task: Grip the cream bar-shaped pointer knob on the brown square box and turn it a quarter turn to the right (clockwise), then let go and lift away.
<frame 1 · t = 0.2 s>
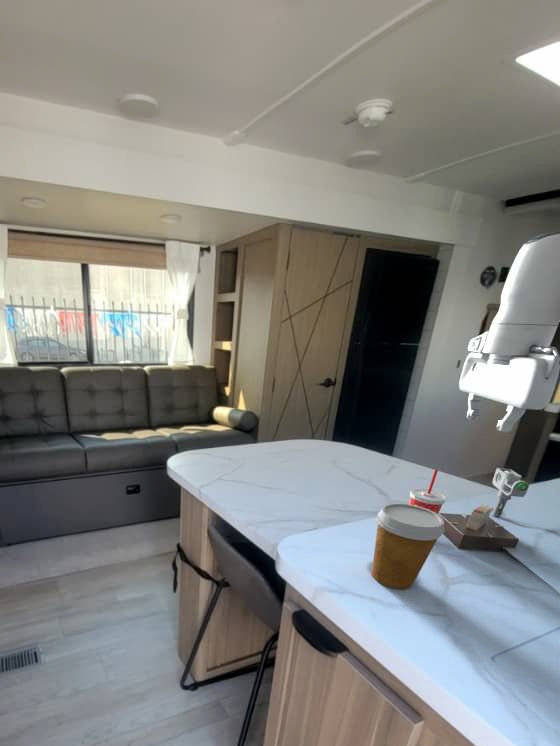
hand: (486, 424, 75), 22 cm above the table, tool pointing down, fingers open, 8 cm apart
brown square box: (471, 538, 82), on the table
disposable coffee cup: (391, 579, 68), on the table
beverage cup: (414, 535, 83), on the table
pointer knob: (479, 516, 80), point 5 cm above the table, hinge at 45.0°
mechanical component: (495, 516, 92), on the table
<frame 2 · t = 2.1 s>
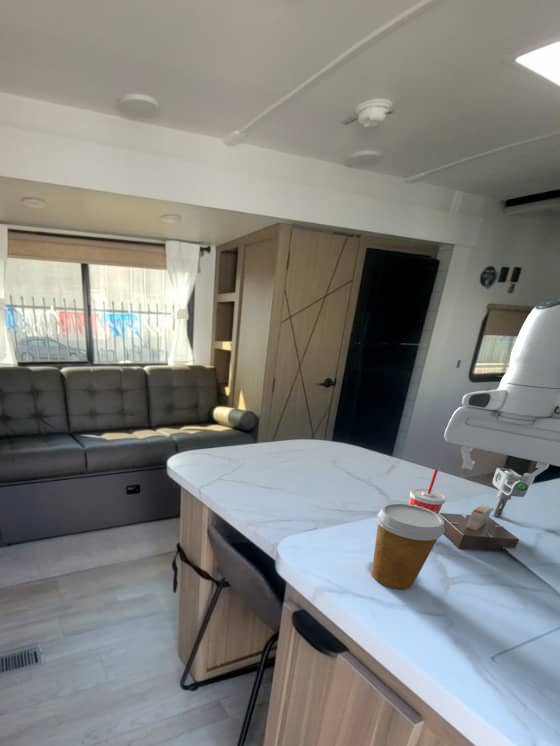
hand: (494, 476, 76), 13 cm above the table, tool pointing down, fingers open, 8 cm apart
nothing on the table moved.
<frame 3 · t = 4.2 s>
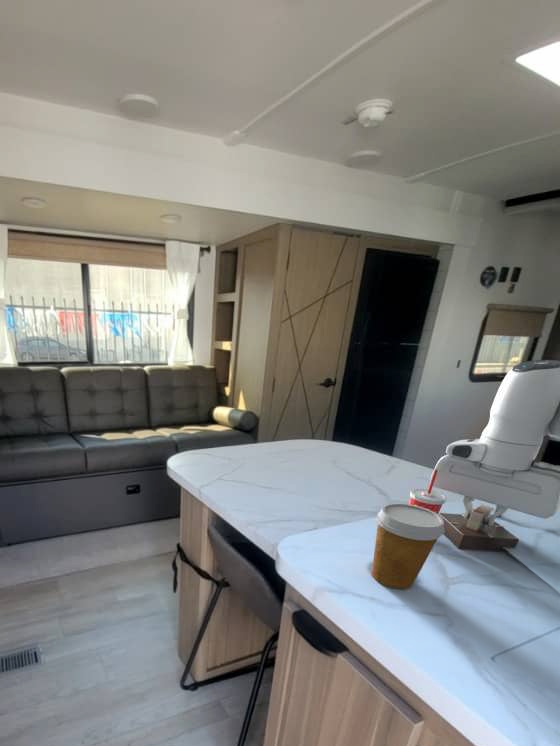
hand: (477, 521, 80), 4 cm above the table, tool pointing down, fingers closed on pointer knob, 2 cm apart
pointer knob: (479, 516, 80), point 5 cm above the table, hinge at 45.1°, touching gripper
everything else where it was.
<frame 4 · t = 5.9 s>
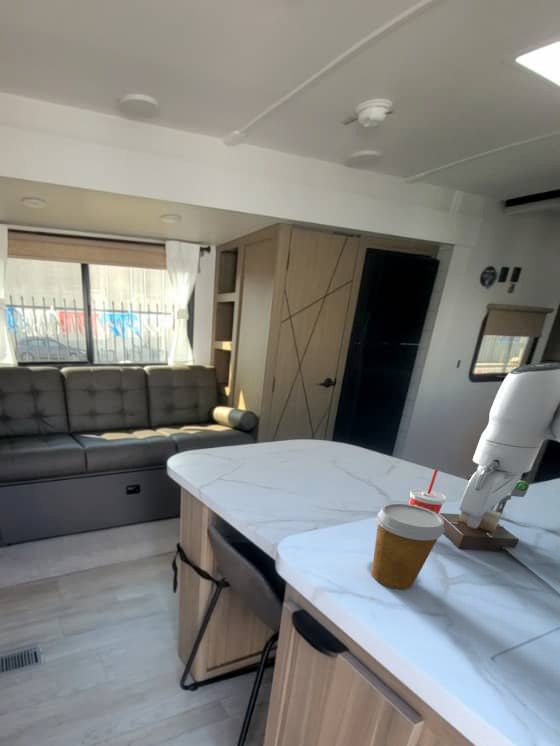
hand: (477, 522, 81), 3 cm above the table, tool pointing down, fingers open, 4 cm apart
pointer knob: (479, 516, 80), point 5 cm above the table, hinge at -45.0°
everything else where it was.
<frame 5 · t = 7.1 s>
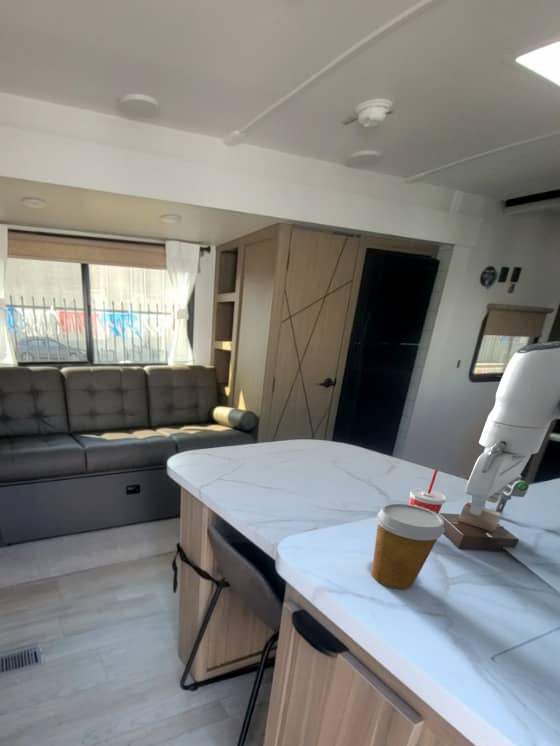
hand: (484, 507, 79), 7 cm above the table, tool pointing down, fingers open, 8 cm apart
nothing on the table moved.
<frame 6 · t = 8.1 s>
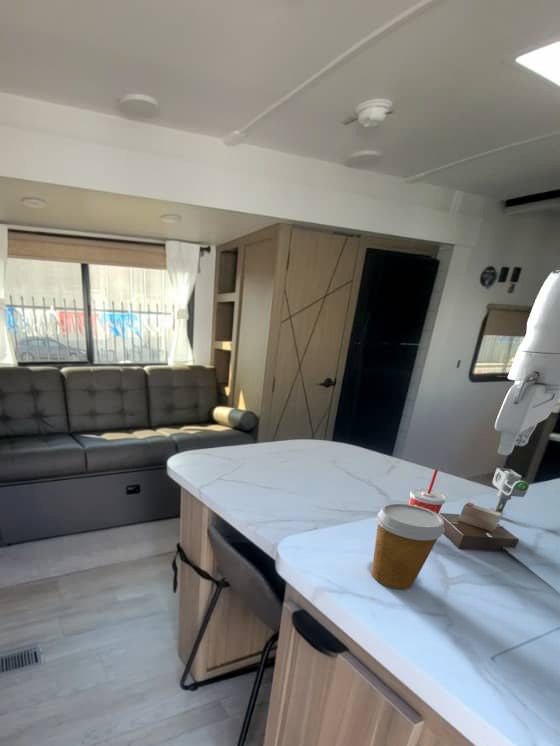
hand: (511, 449, 75), 18 cm above the table, tool pointing down, fingers open, 8 cm apart
nothing on the table moved.
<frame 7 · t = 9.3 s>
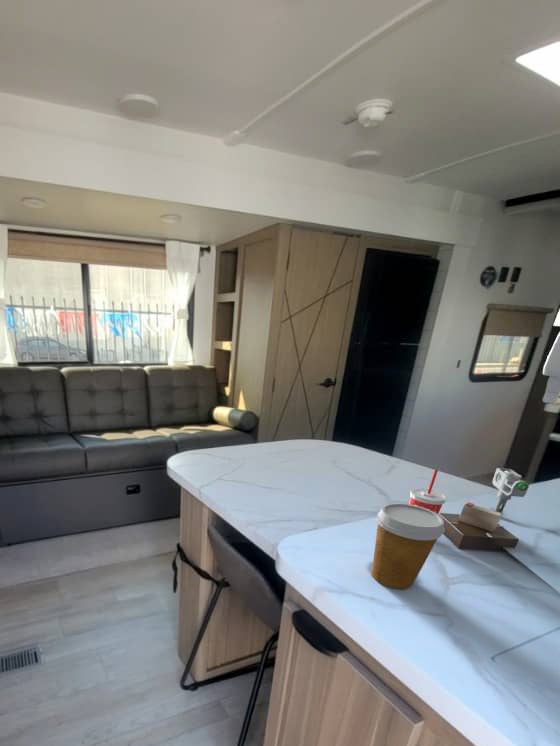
hand: (555, 400, 74), 27 cm above the table, tool pointing down, fingers open, 8 cm apart
nothing on the table moved.
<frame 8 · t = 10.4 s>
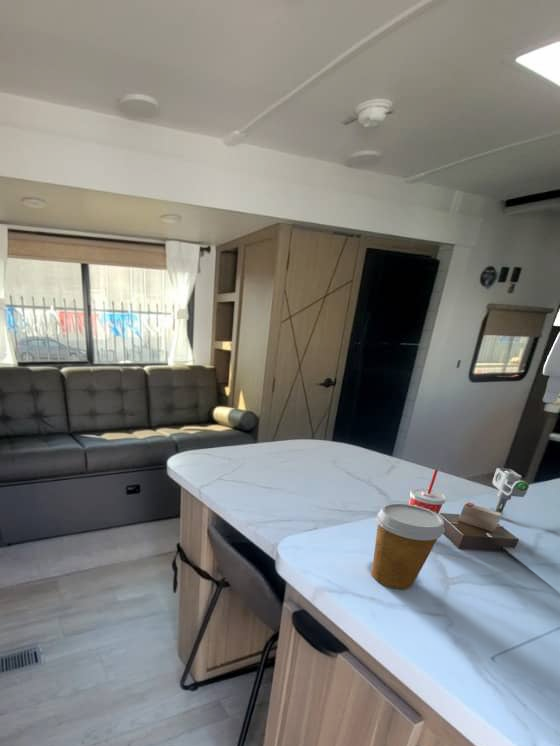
hand: (555, 400, 74), 27 cm above the table, tool pointing down, fingers open, 8 cm apart
nothing on the table moved.
at the end: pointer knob at -45° (first picture: +45°); the gripper is holding nothing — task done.
